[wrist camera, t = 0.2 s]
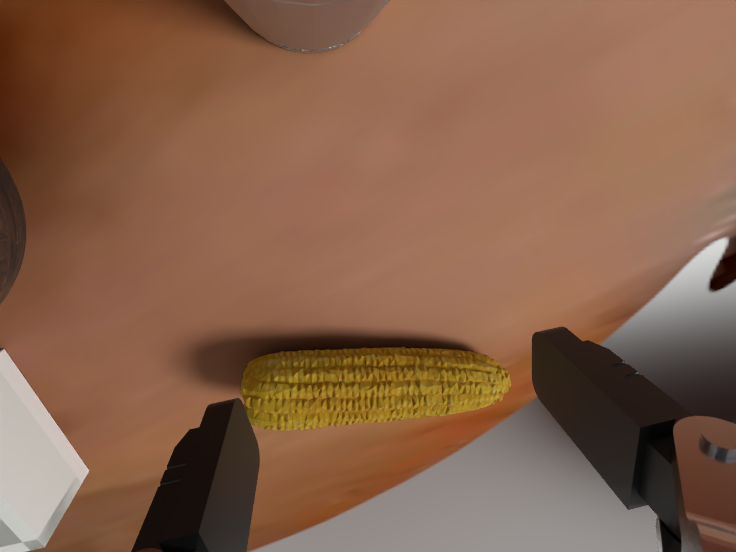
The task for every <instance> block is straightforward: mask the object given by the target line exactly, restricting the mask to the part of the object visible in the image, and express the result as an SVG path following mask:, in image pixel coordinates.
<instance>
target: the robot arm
mask: <svg viewBox="0 0 736 552" xmlns="http://www.w3.org/2000/svg"><path fill="white" fill-rule="evenodd" d="M224 1H225V2H226V3H227V4H228V5H229V6H230V7H231V8H232V10H234V11H235V12H236V13H237V14H238V15H239V16H240V17H241V18H242V19H243V20H244V21H245V22H246V23H247V25H248V26H249V27H250V28H251V29H252V30H254V31H255V32H256V33H258V34H259V35H260V36H262V37H263V38H264V39H266V40H267V41H269V42H270V43H273V44H275V45H277V46H279V47H281V48H284V49H286V50H290V51H295V52H300V53H322V52H325V51H329V50H333V49H336V48H338V47H340V46H342V45H344V44H346V43H347V42H349V41H351V40H353V39H354V38H355V37H356V36H358V35H359V34H360V33H361V31H362V30H363V29H364V28H366V26H367V25H368V24H369V23H370V22H371V21H372V20H373V19H374V18H375V17H376V16H377V15H378V13H379V12H380V11H381V10H382V9H383V8H384V7H385V5H386V4H387V3H388V2H389V1H390V0H224ZM532 381H533V386H534V389H535V392H536V394H537V396H538V398H539V399H540V401H541V402H542V404H543V405H544V406H545V407H546V408H547V410H548V411H549V412H550V413H551V415H552V416H553V417H554V418H555V419H556V421H557V422H558V423H559V425H560V426H561V427H562V428H563V430H564V431H565V432H566V433H567V435H568V436H569V437H570V438H571V439H572V441H573V442H574V443H575V444H576V446H577V447H578V448H579V449H580V451H581V452H582V453H583V454H584V455H585V457H586V458H587V459H588V461H589V462H590V463H591V464H592V466H593V467H594V468H595V469H596V470H597V472H598V473H599V474H600V475H601V477H602V478H603V479H604V480H605V482H606V483H607V484H608V485H609V487H610V488H611V489H612V490H613V491H614V493H615V494H616V495H617V497H618V498H619V499H620V500H621V501H622V503H623V504H624V505H625V506H626V508H627V509H628V510H630V509H634V508H637V507H642V506H646V505H649V506H650V508H651V509H652V510H653V511H654V512H655V513H656V514H657V517H656V537H657V548H658V552H736V425H735V424H733V423H730V422H727V421H724V420H721V419H717V418H713V417H706V416H694V415H693V414H691V413H690V412H689V411H688V410H686V409H685V408H684V407H682V406H681V405H680V404H679V403H677V402H676V401H675V400H673V399H672V398H671V397H669V396H668V395H667V394H666V393H664V392H663V391H662V390H660V389H659V388H658V387H657V386H655V385H654V384H653V383H651V382H650V381H649V380H648V379H646V378H645V377H644V376H643V375H639V373H638V372H637V371H636V370H635V369H634V368H632V367H631V366H629V365H626V364H625V362H624V361H623V360H622V359H621V358H620V357H618V356H617V355H616V354H614V353H613V352H612V351H611V350H609V349H607V348H605V347H602V346H600V345H598V344H595V343H593V342H591V341H588V340H587V341H581V340H580V339H579V338H578V337H577V336H575V335H574V334H573V333H572V332H570V331H569V330H568V329H567V328H565V327H558V328H553V329H549V330H544V331H540V332H535V333H534V334H533V337H532ZM259 463H260V457H259V448H258V443H257V440H256V437H255V434H254V432H253V429H252V426H251V424H250V421H249V419H248V416H247V413H246V411H245V408H244V405H243V403H242V401H241V400H240V399H239V398H236V399H232V400H227V401H223V402H218V403H214V404H210V405H208V406H207V408H206V411H205V414H204V416H203V419H202V422H201V424H200V427H199V428H194V429H190V430H189V431H188V432H187V433H186V435H185V436H184V437H183V438H182V439H181V441H180V442H179V443H178V444H177V445H176V447H175V448H174V451H173V453H172V455H171V458H170V460H169V463H168V465H167V470H165V472H164V475H163V477H162V479H161V482H160V484H161V485H160V487H158V489H157V491H156V494H155V496H154V499H153V501H152V503H151V506H150V508H149V511H148V513H147V515H146V518H145V520H144V523H143V525H142V527H141V530H140V532H139V535H138V537H137V539H136V542H135V544H134V547H133V549H132V551H131V552H246V550H247V544H248V537H249V531H250V524H251V518H252V511H253V504H254V498H255V491H256V485H257V478H258V471H259Z"/></svg>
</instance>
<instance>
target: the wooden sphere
mask: <svg viewBox="0 0 736 552" xmlns="http://www.w3.org/2000/svg"><path fill="white" fill-rule="evenodd" d="M25 244H26V222H25V215H24V210H23V205H22V202H21V199H20V195H19V193H18V190H17V188H16V185H15V183H14V181H13V179H12V177H11V175H10V173H9V171H8V170H7V168H6V166H5V165H4V163H3V162H2V160H1V159H0V304H1V303H2V301H3V300H4V299H5V297H6V296H7V294H8V293H9V291H10V289H11V288H12V286H13V284H14V282H15V280H16V277H17V275H18V273H19V270H20V267H21V264H22V260H23V257H24V252H25Z"/></svg>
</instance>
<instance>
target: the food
mask: <svg viewBox="0 0 736 552" xmlns="http://www.w3.org/2000/svg"><path fill="white" fill-rule="evenodd" d="M242 376H243V377H244V378H243V380H242V382H241V389H240V394H241V395H242V397H243V399H244V402H245V403H244V408H245V411H246V413H247V416H248V419H249V421H250V424H252V425H254V426H257V427H259V428H264V429H269V430H278V431H281V430H287V431H288V430H296V429H298V430H303V429H310V428H311V429H314V428H315V427H316V426H317V427H319V428H322V427H323V426H324V427H327V426H336V427H338V426H340V425H347V424H356V423H368V422H380V423H382V422H386V421H394V420H403V419H410V418H417V417H430V416H444V415H449V414H454V413H461V412H465V411H472V410H476V409H481V408H483V407H486V406H488V405H493V404H494V403H495V402H496V401H501V400H502V397H503V395H504V394H505V393H506V392H507V391H509V390H510V386H511V385H510V384H512V383H511V381H510V374H508V371H507V370H506V369H504V368H502V365H501V364H500V363H499V362H498V361H495V360H494V359H491V358H490V357H489V356H487V355H483V354H478V353H474V352H470V351H462V350H449V349H437V348H434V349H427V348H422V349H418V348H412V347H411V348H410V349H408V348H405V347H398V348H365V347H363V348H360V349H348V350H347V349H346V348H345V349H342V350H338V349H337V350H329V349H327V350H314V351H313V350H299V351H288V352H283V351H281V352H279V353H273V354H268V355H264V356H261V357H258V358H257V359H253V360H252V361H249V362H248V365H247V368H246V369H245V371H244V373H243V375H242Z"/></svg>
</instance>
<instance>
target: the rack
mask: <svg viewBox="0 0 736 552" xmlns="http://www.w3.org/2000/svg"><path fill="white" fill-rule="evenodd" d="M88 472H89V470H88V468H87V467H86V465H85V464H84V463H83V461H82V460H81V458H80V457H79V455H78V454H77V453H76V451H75V450H74V448H73V447H72V445H71V444H70V443H69V441H68V440H67V438H66V437H65V435H64V434H63V432H62V431H61V430H60V428H59V427H58V425H57V424H56V422H55V421H54V420H53V418H52V417H51V415H50V414H49V412H48V411H47V410H46V408H45V407H44V405H43V404H42V402H41V401H40V400H39V398H38V397H37V395H36V394H35V392H34V391H33V390H32V388H31V387H30V385H29V384H28V382H27V381H26V379H25V378H24V377H23V375H22V374H21V372H20V371H19V369H18V368H17V367H16V365H15V364H14V362H13V361H12V359H11V358H10V357H9V355H8V354H7V352H6V351H5V349H2V350H0V552H26V551H30V550H35V549H39V548H44V547H45V546H46V544H47V543H48V541H49V539H50V537H51V536H52V534H53V532H54V531H55V529H56V527H57V525H58V524H59V522H60V520H61V519H62V517H63V515H64V513H65V512H66V510H67V508H68V506H69V505H70V503H71V501H72V500H73V498H74V496H75V494H76V493H77V491H78V489H79V488H80V486H81V484H82V482H83V481H84V479H85V477H86V475H87V474H88Z"/></svg>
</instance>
